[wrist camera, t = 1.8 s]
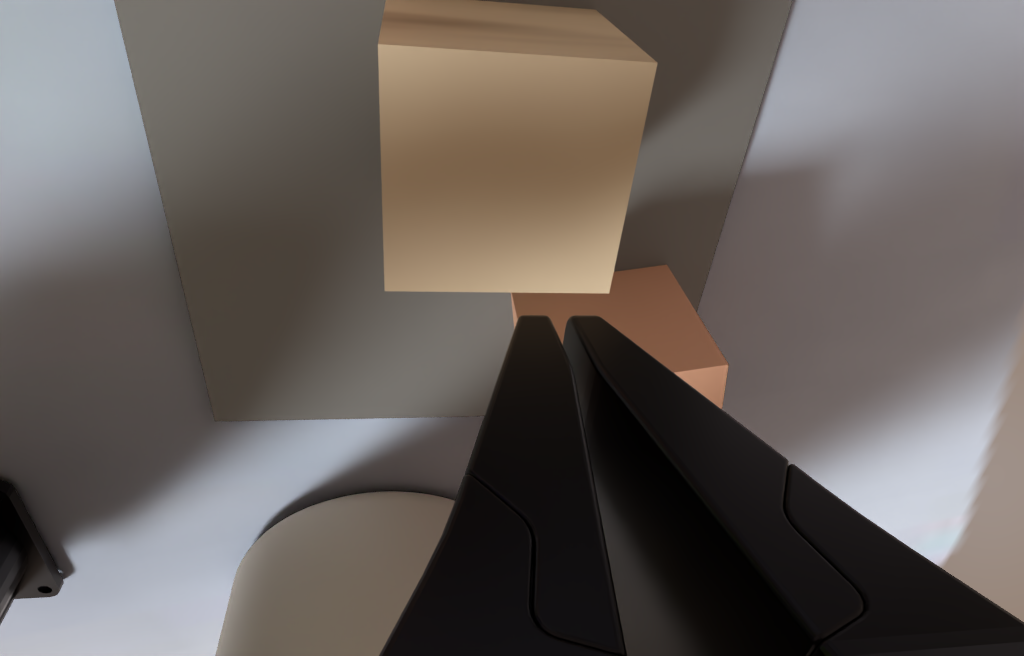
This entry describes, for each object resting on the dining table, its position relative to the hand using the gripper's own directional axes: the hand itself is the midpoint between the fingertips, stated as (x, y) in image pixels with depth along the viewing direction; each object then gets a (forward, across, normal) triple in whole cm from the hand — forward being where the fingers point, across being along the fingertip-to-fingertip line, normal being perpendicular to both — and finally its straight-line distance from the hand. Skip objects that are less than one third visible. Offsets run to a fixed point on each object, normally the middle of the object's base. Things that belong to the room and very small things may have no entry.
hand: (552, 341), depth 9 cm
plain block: (+10, 0, 0) cm, 10 cm away
